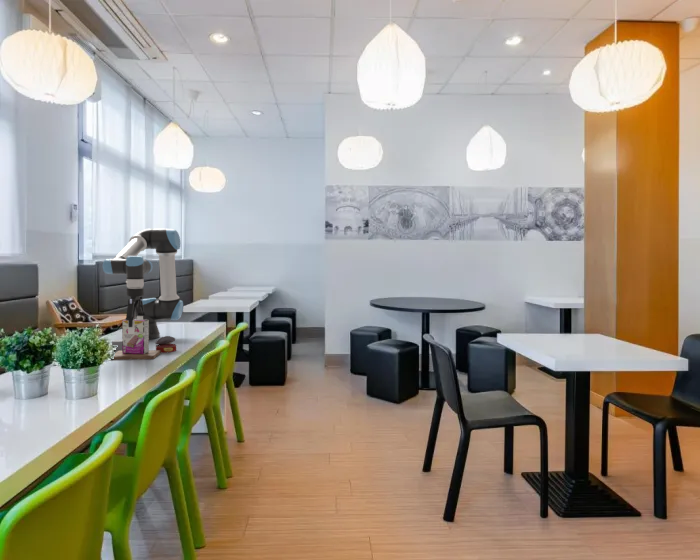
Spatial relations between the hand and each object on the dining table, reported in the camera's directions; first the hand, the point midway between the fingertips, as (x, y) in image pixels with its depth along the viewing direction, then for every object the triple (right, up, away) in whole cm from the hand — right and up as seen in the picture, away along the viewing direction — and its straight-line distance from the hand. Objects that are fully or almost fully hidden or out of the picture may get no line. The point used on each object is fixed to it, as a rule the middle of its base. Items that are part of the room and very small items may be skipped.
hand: (135, 331), depth 229 cm
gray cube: (-15, -11, +14) cm, 24 cm away
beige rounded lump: (+6, -11, +23) cm, 26 cm away
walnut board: (0, -12, 0) cm, 12 cm away
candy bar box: (0, -11, 0) cm, 11 cm away
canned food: (+9, -12, +15) cm, 21 cm away
